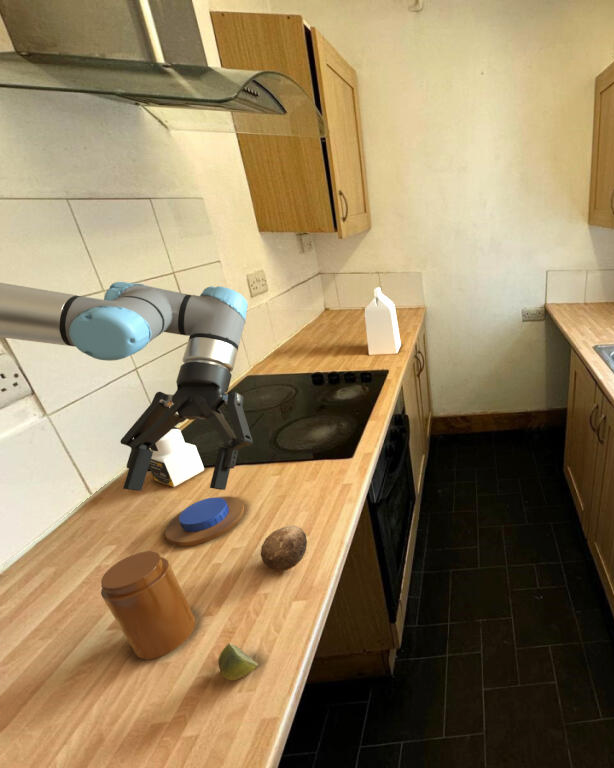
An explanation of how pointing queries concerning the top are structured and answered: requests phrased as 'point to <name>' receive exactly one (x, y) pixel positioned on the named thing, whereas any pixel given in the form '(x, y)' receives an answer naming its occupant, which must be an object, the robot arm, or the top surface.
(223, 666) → the lime
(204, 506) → the lid
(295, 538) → the brown oval lump
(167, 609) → the jar
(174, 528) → the coaster
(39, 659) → the top surface
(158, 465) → the medicine bottle
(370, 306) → the milk
